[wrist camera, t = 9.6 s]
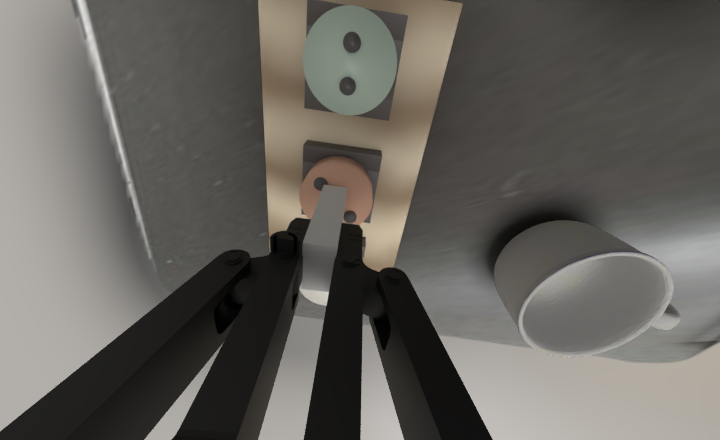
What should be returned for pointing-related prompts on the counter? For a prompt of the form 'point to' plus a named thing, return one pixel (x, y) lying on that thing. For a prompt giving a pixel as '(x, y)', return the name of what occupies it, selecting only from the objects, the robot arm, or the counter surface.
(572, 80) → the counter surface
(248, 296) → the robot arm
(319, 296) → the button one dot
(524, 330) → the teacup
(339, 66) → the button two dot
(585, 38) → the counter surface
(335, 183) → the button three dot
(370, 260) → the button board
